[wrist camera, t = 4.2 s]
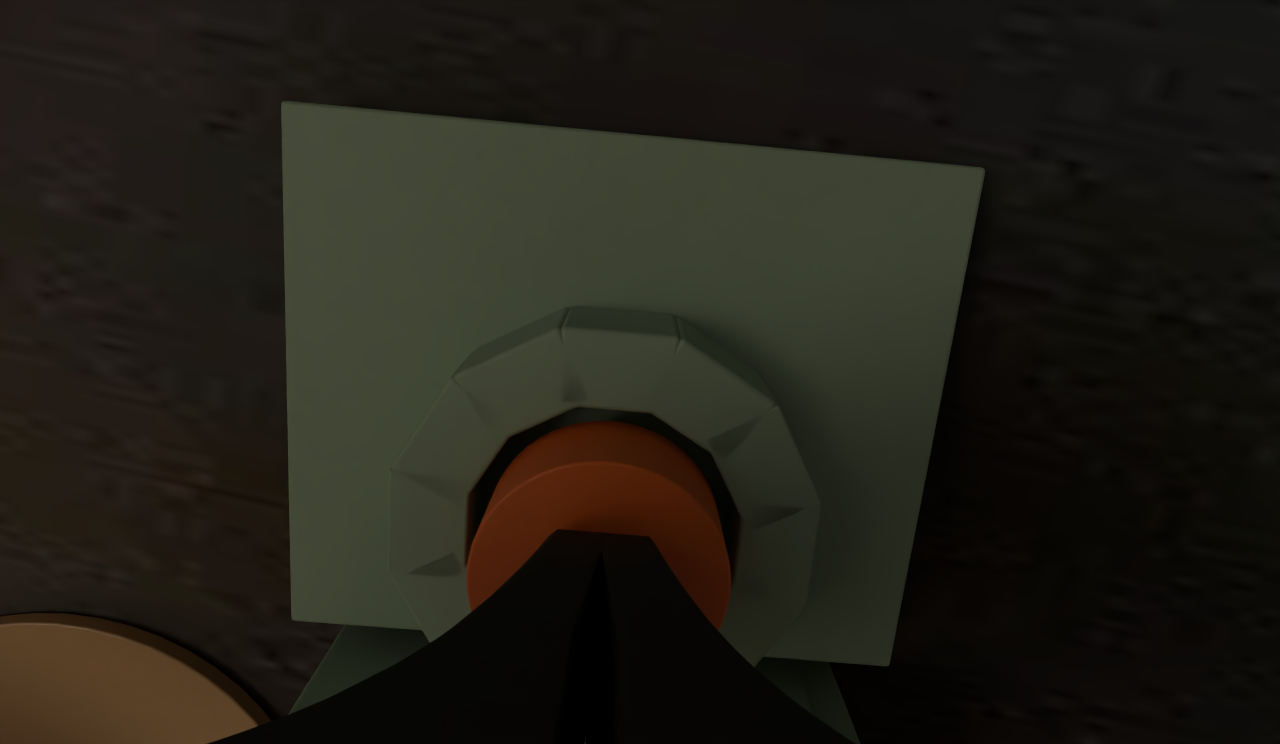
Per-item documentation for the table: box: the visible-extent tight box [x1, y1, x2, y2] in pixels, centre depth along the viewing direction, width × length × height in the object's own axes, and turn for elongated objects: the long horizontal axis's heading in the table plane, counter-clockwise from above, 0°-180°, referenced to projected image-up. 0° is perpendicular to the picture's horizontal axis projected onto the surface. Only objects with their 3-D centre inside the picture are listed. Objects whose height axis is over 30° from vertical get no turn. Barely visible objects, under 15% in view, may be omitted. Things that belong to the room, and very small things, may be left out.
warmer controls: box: [281, 101, 985, 667], centre depth 13 cm, size 9×11×3 cm
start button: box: [466, 421, 731, 631], centre depth 12 cm, size 4×4×2 cm
